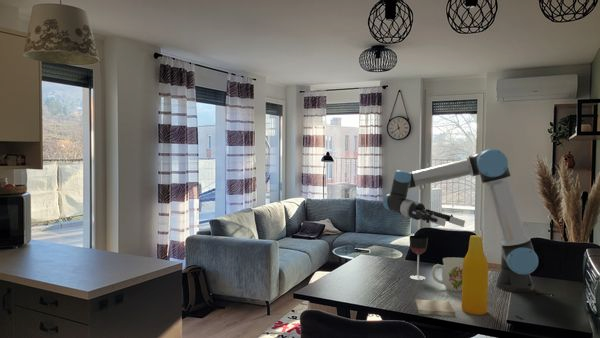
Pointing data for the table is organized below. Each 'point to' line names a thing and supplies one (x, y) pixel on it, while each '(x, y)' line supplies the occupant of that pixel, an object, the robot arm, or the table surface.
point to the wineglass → (418, 251)
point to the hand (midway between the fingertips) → (454, 223)
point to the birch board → (434, 307)
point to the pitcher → (450, 273)
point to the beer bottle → (475, 278)
